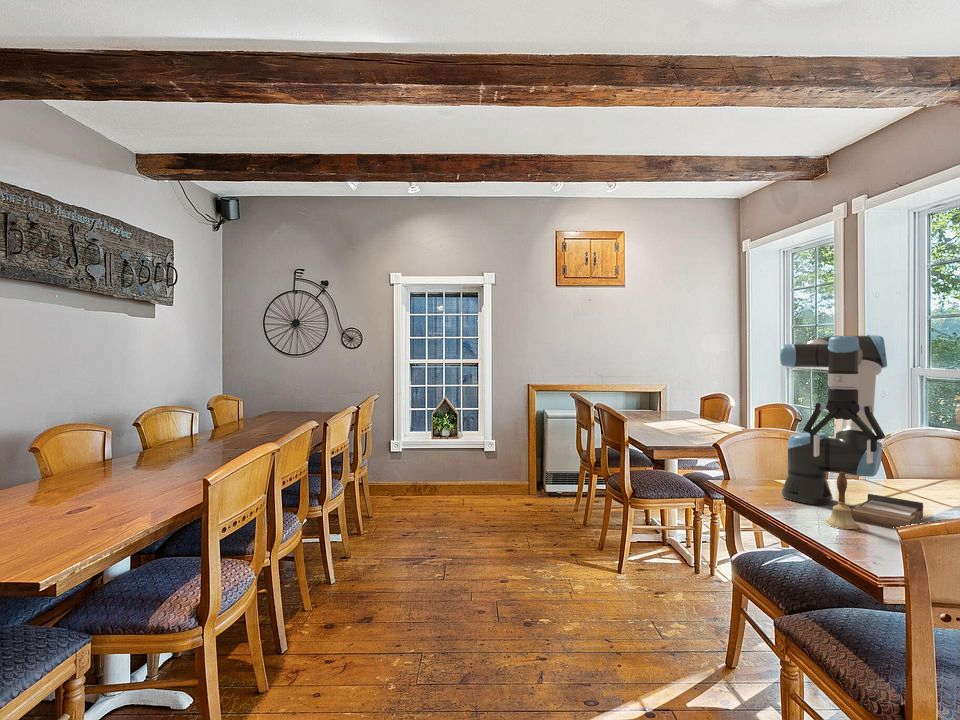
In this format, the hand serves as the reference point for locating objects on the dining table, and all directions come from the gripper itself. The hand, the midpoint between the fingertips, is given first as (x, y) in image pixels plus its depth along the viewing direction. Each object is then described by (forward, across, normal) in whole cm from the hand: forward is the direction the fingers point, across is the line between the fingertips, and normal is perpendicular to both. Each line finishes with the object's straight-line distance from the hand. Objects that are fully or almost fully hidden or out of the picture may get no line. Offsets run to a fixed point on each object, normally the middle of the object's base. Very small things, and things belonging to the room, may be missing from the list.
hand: (842, 459), depth 159 cm
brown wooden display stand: (+20, +7, +17) cm, 27 cm away
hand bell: (+20, 0, 0) cm, 20 cm away
